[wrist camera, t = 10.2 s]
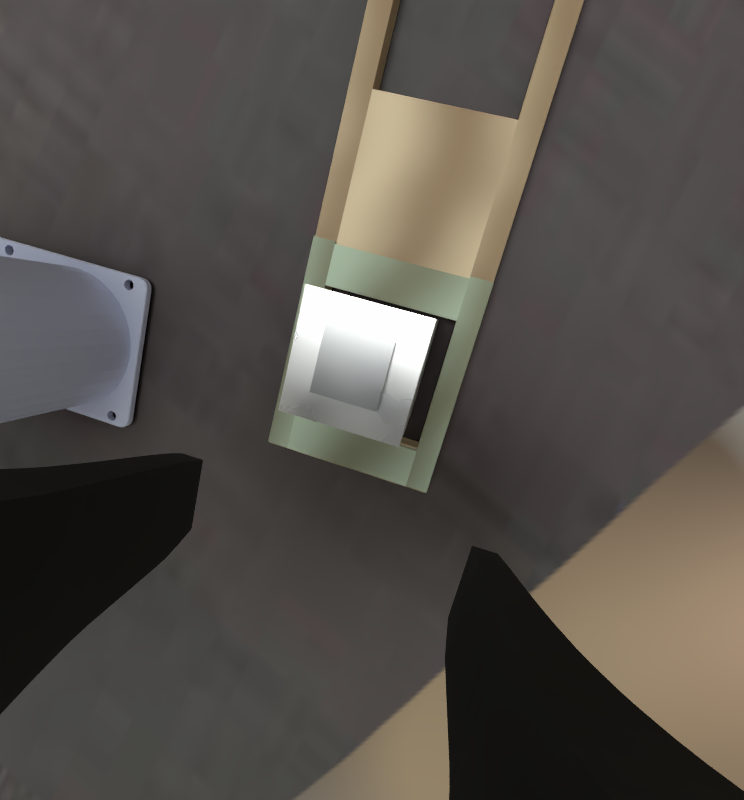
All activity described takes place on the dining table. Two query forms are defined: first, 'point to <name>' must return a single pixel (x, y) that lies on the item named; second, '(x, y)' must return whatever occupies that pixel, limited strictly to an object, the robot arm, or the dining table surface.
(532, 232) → the dining table surface
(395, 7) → the wooden peg board
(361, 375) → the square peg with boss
